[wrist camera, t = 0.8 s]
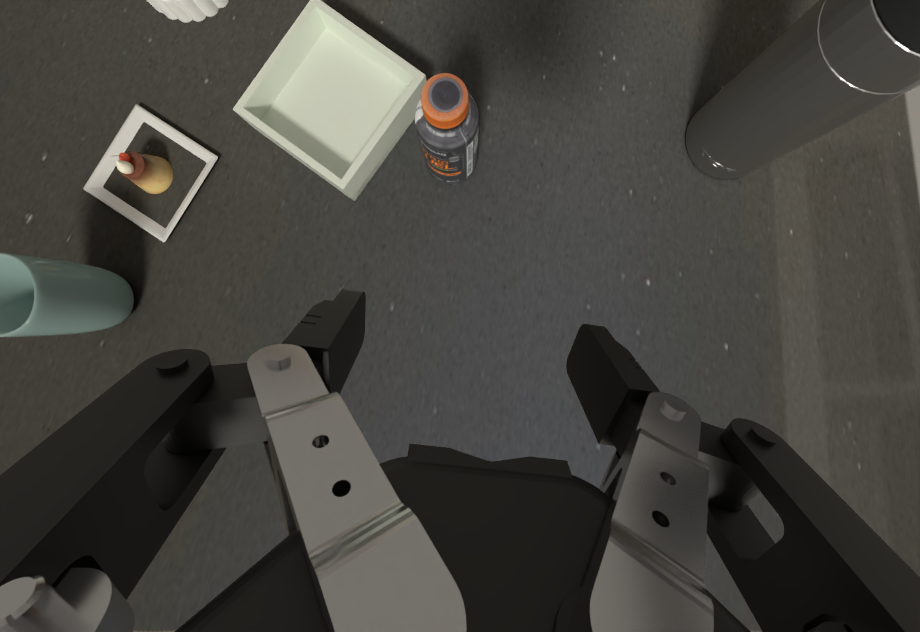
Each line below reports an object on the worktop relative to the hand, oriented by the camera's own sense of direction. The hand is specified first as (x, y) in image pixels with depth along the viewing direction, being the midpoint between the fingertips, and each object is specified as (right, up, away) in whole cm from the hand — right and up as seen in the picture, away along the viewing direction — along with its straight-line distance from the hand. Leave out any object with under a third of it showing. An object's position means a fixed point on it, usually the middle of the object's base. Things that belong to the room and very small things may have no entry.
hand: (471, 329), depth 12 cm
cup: (-42, +2, +27) cm, 50 cm away
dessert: (-37, +17, +28) cm, 50 cm away
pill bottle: (-1, +19, +26) cm, 32 cm away
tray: (-14, +24, +26) cm, 39 cm away
